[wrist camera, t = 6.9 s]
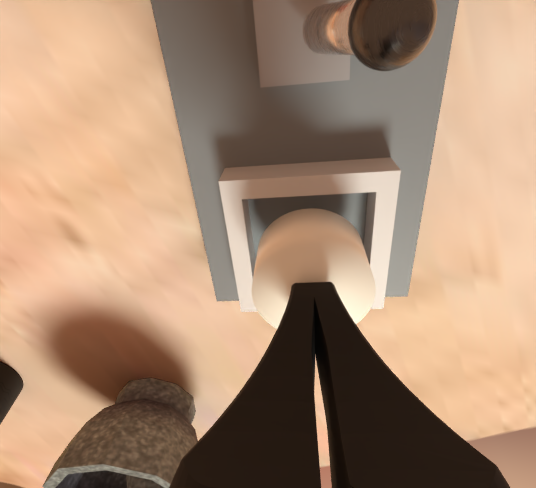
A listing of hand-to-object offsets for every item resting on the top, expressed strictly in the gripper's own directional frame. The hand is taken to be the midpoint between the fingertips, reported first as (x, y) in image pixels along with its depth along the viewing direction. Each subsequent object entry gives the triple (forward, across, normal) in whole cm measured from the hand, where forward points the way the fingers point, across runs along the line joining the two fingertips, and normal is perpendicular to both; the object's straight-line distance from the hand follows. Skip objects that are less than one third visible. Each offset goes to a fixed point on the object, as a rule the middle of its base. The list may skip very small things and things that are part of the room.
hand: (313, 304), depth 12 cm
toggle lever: (+4, 0, -8) cm, 9 cm away
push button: (+3, 0, 0) cm, 3 cm away
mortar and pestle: (+7, +12, +17) cm, 22 cm away
